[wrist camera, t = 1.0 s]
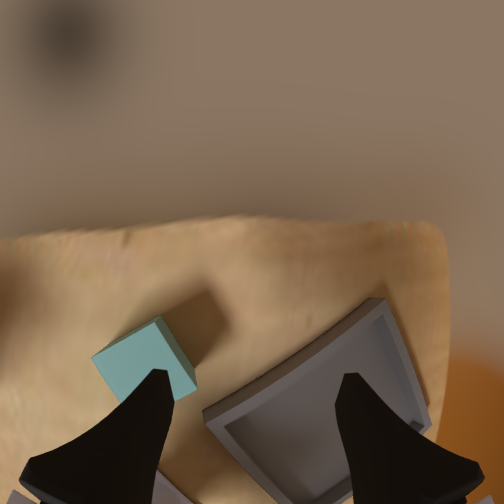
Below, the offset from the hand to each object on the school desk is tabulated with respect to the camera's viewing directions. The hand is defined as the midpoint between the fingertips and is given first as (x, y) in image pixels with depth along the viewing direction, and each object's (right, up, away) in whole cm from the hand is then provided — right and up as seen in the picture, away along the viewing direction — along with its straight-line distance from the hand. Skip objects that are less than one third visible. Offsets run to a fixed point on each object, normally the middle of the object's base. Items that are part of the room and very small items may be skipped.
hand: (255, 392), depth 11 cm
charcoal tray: (+8, -11, +12) cm, 18 cm away
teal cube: (-8, -2, +10) cm, 13 cm away
